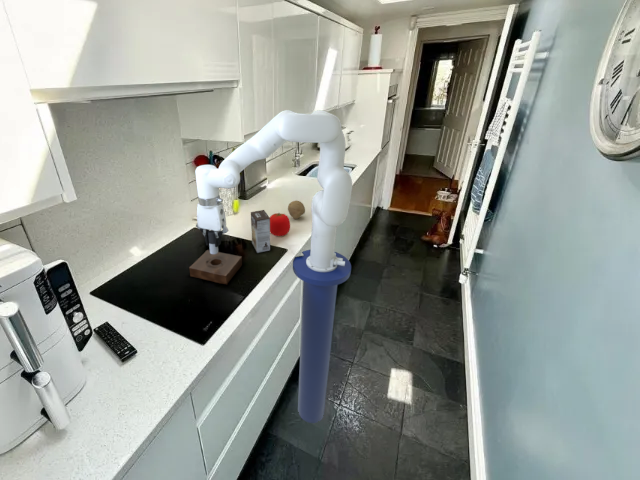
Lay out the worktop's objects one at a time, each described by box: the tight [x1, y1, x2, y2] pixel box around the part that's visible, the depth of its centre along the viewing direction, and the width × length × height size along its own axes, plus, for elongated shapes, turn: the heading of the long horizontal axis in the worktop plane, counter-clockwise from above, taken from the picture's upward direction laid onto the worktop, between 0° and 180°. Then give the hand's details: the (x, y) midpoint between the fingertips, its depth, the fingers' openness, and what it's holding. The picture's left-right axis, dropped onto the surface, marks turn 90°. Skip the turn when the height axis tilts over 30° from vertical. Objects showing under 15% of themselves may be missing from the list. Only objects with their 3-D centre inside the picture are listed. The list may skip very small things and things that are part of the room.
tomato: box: [269, 212, 291, 237], centre depth 146 cm, size 10×11×11 cm
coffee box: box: [250, 209, 271, 254], centre depth 135 cm, size 9×6×16 cm
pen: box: [208, 230, 219, 254], centre depth 117 cm, size 3×3×9 cm
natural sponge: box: [287, 200, 306, 220], centre depth 162 cm, size 9×9×10 cm
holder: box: [188, 249, 243, 286], centre depth 122 cm, size 16×14×4 cm
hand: (213, 244), depth 118 cm, fingers closed on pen, 3 cm apart
